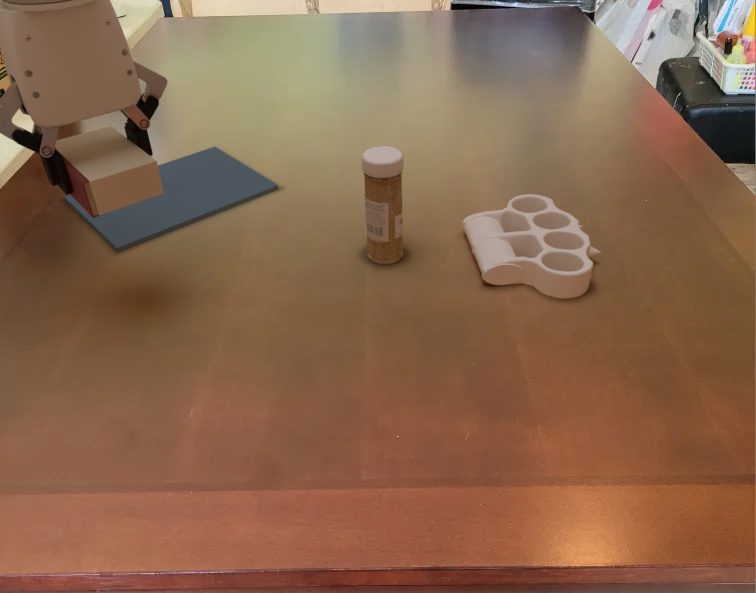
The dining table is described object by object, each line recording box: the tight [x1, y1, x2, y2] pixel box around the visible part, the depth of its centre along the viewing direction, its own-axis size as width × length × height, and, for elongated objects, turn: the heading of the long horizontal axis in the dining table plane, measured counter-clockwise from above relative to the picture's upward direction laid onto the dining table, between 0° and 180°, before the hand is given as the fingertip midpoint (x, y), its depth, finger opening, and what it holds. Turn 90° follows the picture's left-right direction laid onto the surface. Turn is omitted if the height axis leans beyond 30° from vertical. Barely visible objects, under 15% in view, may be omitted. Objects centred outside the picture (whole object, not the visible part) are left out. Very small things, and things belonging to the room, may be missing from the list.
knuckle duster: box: [462, 193, 602, 300], centre depth 78 cm, size 3×18×15 cm
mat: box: [64, 146, 279, 253], centre depth 93 cm, size 24×18×1 cm
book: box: [55, 125, 164, 218], centre depth 64 cm, size 11×7×4 cm, turn 40°
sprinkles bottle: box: [361, 145, 405, 266], centre depth 76 cm, size 5×5×14 cm
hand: (104, 175), depth 65 cm, fingers closed on book, 7 cm apart
